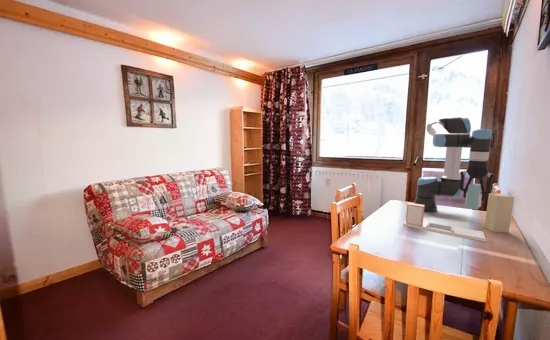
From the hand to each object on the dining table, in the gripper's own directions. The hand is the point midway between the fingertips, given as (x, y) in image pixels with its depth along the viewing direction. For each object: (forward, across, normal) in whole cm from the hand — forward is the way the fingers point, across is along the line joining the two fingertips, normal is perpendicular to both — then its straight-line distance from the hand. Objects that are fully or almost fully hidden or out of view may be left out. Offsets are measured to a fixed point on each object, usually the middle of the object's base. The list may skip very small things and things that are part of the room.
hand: (472, 205), depth 128 cm
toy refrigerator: (+17, +9, +18) cm, 26 cm away
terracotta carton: (+15, -24, -8) cm, 30 cm away
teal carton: (+1, 0, 0) cm, 1 cm away
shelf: (+17, -12, -3) cm, 21 cm away
